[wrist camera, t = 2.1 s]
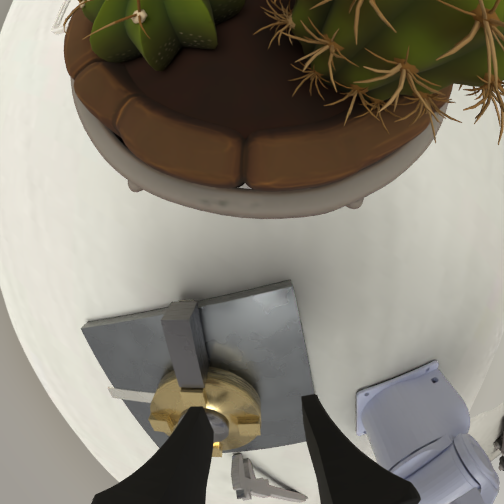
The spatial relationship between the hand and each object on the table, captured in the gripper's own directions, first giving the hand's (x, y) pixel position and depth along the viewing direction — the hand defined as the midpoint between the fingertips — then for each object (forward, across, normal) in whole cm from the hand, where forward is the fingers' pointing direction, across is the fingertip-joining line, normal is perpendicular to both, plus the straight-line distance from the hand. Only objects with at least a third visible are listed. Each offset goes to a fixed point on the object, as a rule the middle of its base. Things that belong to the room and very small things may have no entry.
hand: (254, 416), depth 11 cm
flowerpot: (+10, -3, -16) cm, 19 cm away
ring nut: (+8, +5, +4) cm, 10 cm away
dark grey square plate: (+9, +5, +7) cm, 13 cm away
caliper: (+10, +1, +28) cm, 29 cm away
